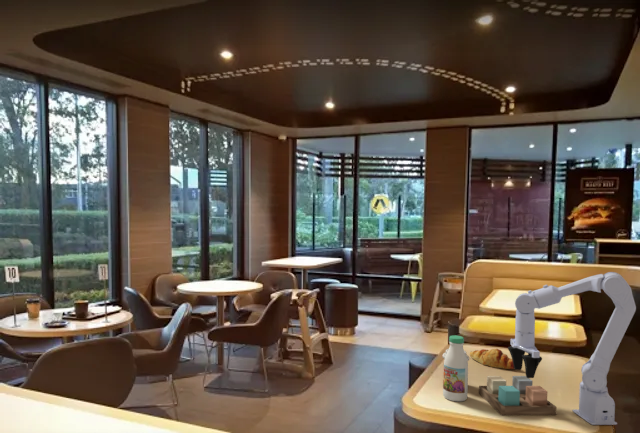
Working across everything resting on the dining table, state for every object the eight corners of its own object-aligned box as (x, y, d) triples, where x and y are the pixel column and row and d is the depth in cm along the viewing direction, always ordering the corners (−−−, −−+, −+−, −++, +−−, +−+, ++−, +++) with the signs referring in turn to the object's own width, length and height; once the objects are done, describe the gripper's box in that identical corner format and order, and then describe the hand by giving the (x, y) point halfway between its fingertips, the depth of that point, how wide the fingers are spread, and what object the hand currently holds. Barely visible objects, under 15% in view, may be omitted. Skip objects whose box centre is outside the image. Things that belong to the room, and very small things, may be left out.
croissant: (466, 367, 194) (461, 352, 191) (477, 352, 200) (472, 337, 197) (515, 380, 178) (511, 364, 176) (526, 363, 184) (522, 347, 182)
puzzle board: (556, 415, 141) (556, 393, 141) (501, 415, 140) (502, 393, 140) (527, 393, 158) (528, 374, 158) (478, 393, 157) (479, 373, 157)
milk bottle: (448, 391, 158) (450, 332, 158) (470, 397, 153) (472, 336, 153) (438, 397, 152) (440, 336, 152) (461, 404, 147) (463, 341, 147)
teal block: (519, 409, 142) (519, 391, 142) (505, 409, 142) (505, 391, 142) (511, 403, 147) (512, 385, 147) (498, 403, 146) (498, 385, 146)
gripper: (502, 325, 156) (501, 365, 156) (524, 337, 142) (523, 381, 142) (522, 325, 157) (521, 365, 157) (546, 337, 142) (545, 381, 142)
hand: (523, 373), depth 149 cm, fingers open, 7 cm apart
